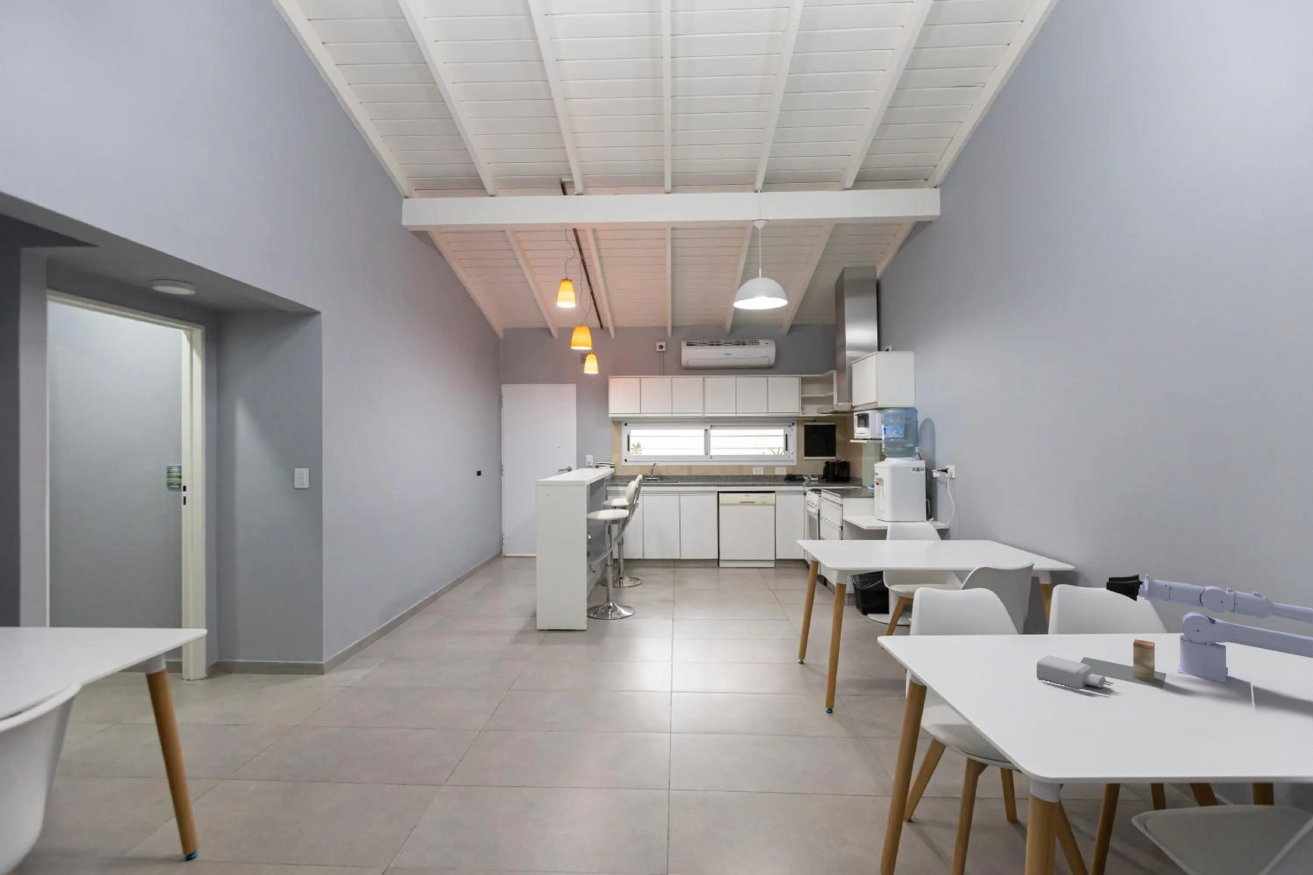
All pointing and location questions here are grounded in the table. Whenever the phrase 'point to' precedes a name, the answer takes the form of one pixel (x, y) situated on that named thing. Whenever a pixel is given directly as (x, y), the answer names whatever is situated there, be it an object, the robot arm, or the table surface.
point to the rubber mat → (1121, 672)
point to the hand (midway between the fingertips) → (1107, 583)
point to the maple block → (1144, 660)
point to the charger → (1068, 673)
